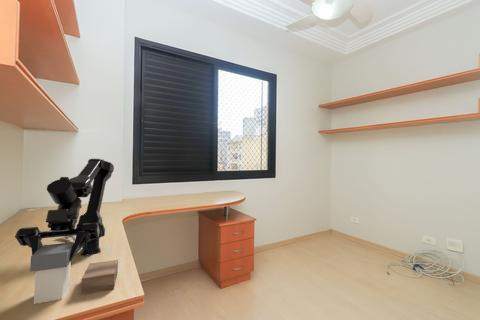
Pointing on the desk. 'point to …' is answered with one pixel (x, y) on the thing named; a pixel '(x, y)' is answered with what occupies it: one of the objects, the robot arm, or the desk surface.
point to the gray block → (51, 257)
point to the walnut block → (99, 277)
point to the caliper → (71, 237)
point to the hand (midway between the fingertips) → (52, 262)
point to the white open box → (51, 284)
